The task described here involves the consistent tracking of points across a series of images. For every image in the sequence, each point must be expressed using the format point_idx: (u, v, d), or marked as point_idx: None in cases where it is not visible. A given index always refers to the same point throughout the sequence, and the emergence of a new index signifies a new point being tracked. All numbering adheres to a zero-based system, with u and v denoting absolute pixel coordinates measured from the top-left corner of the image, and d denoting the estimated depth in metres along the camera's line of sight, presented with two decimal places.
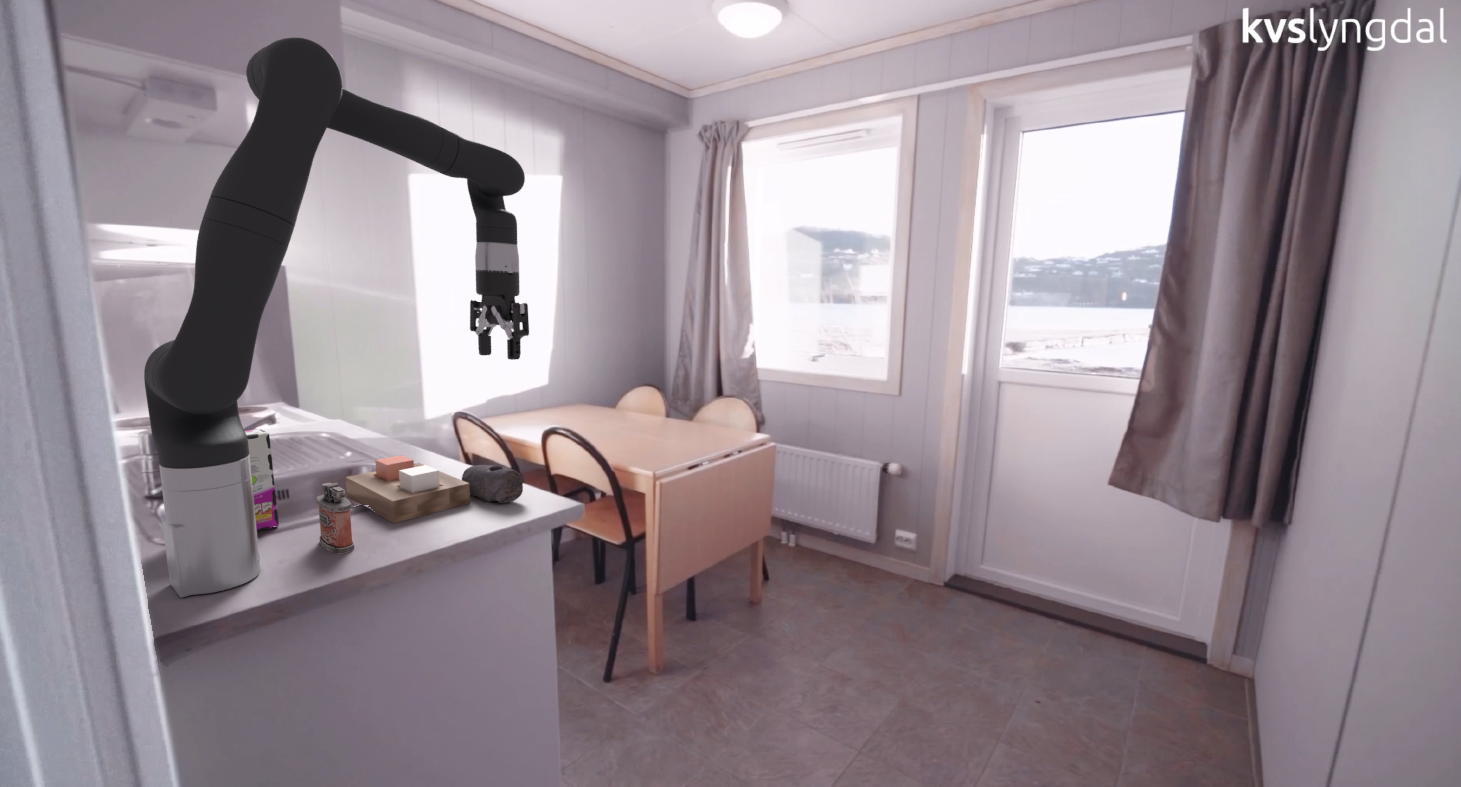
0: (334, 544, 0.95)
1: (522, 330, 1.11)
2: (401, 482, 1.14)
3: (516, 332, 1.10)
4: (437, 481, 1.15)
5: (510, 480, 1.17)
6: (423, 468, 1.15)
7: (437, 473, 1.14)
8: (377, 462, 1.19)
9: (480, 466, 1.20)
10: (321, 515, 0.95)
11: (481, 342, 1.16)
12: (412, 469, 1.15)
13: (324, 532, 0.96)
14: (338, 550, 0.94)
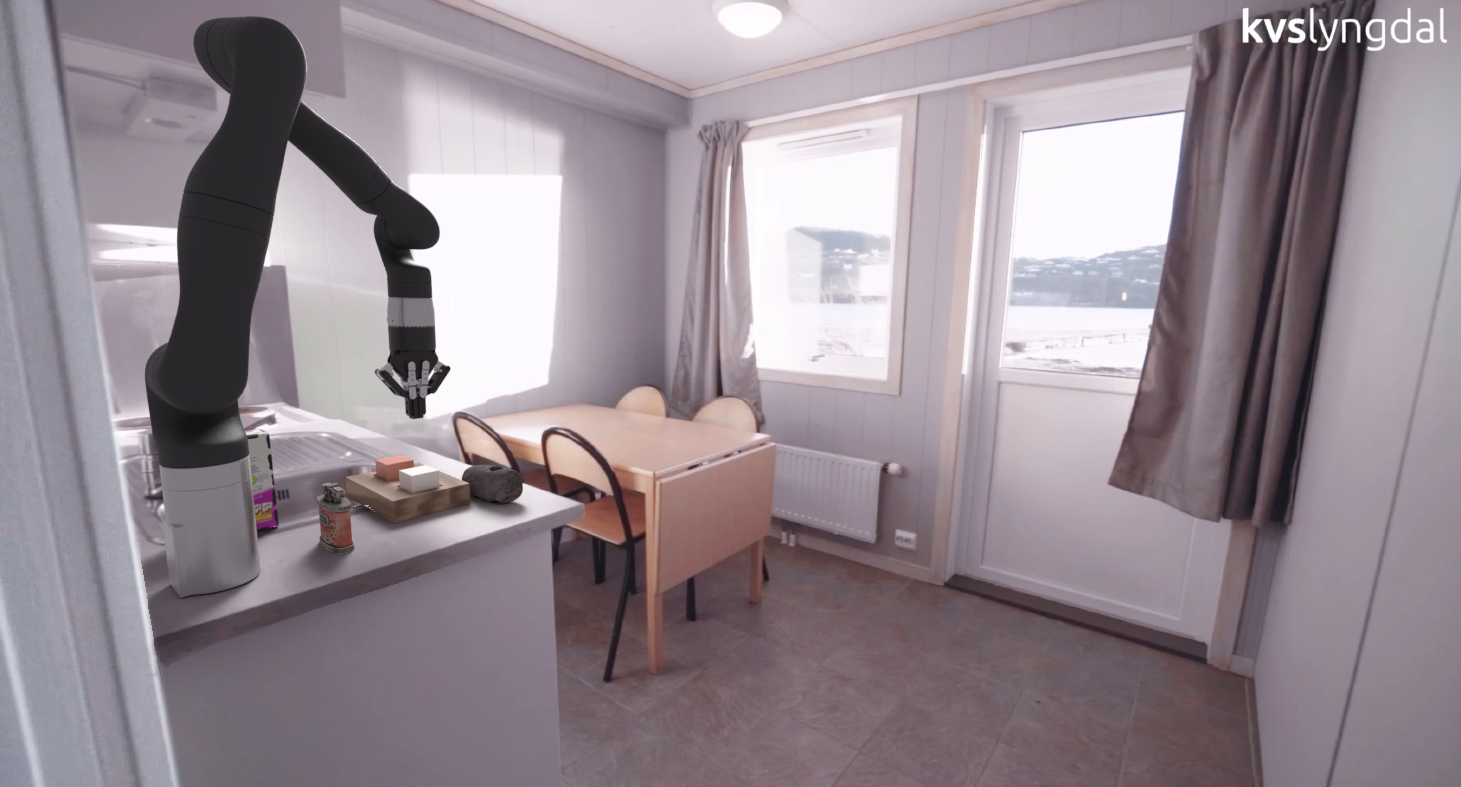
0: (334, 544, 0.95)
1: None
2: (401, 482, 1.14)
3: (434, 391, 1.13)
4: (437, 481, 1.15)
5: (510, 480, 1.17)
6: (423, 468, 1.15)
7: (437, 473, 1.14)
8: (377, 462, 1.19)
9: (480, 466, 1.20)
10: (321, 515, 0.95)
11: (417, 405, 1.11)
12: (412, 469, 1.15)
13: (324, 532, 0.96)
14: (338, 550, 0.94)
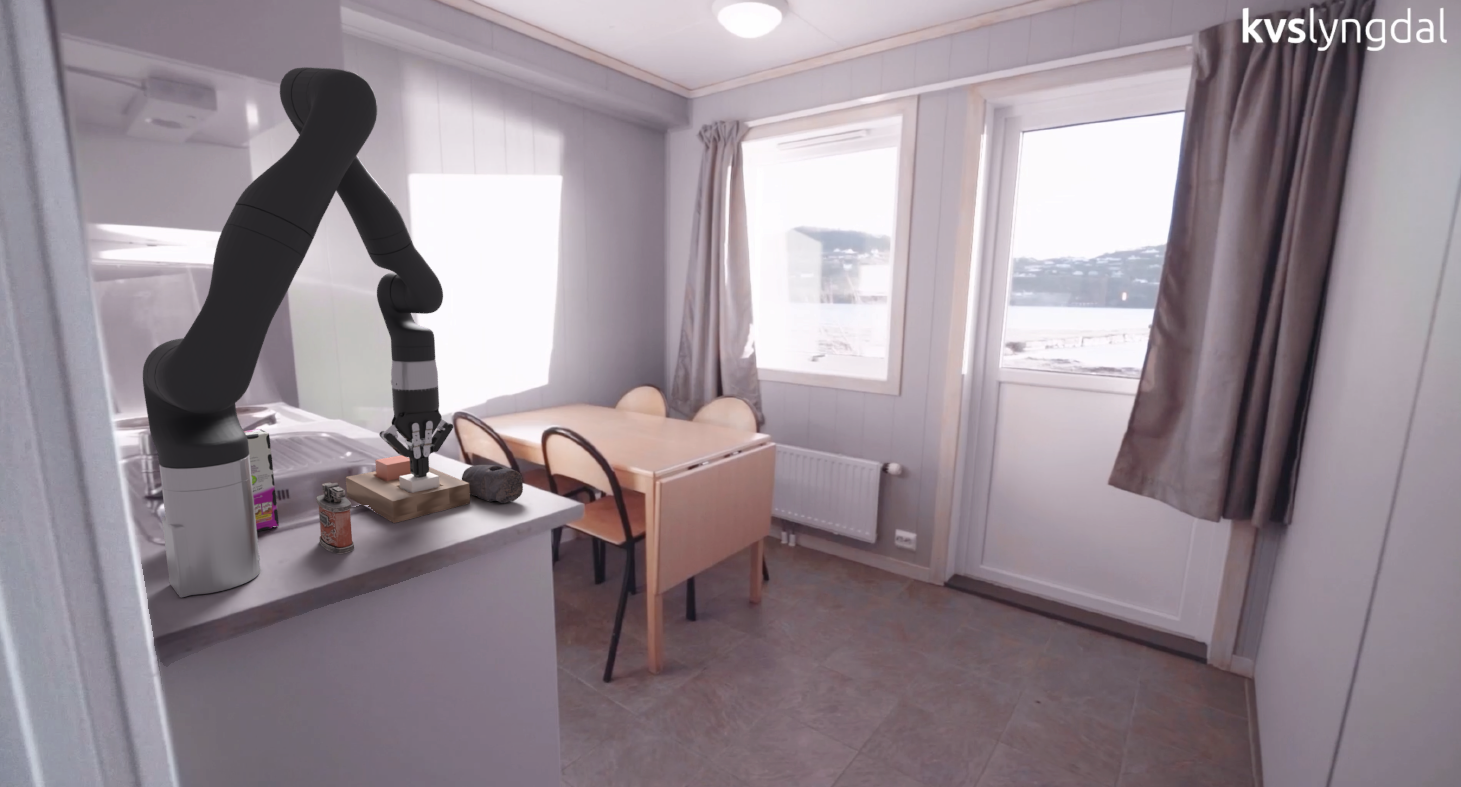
0: (334, 544, 0.95)
1: None
2: (401, 488, 1.14)
3: (437, 449, 1.15)
4: None
5: (510, 480, 1.17)
6: None
7: (437, 479, 1.15)
8: (377, 462, 1.19)
9: (480, 466, 1.20)
10: (321, 515, 0.95)
11: (421, 464, 1.13)
12: (412, 475, 1.15)
13: (324, 532, 0.96)
14: (338, 550, 0.94)
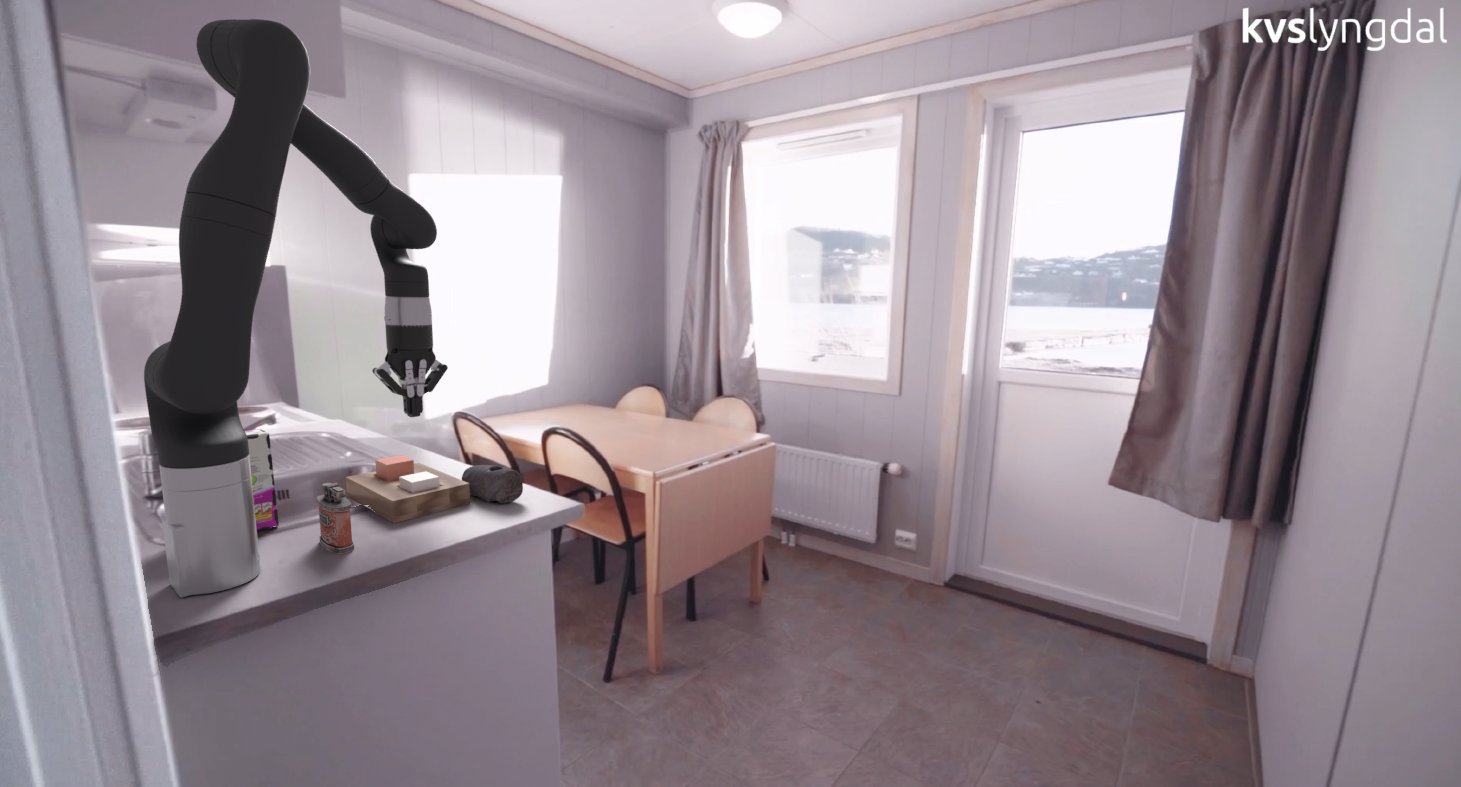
0: (334, 544, 0.95)
1: None
2: (401, 488, 1.14)
3: (431, 389, 1.14)
4: None
5: (510, 480, 1.17)
6: (423, 474, 1.16)
7: (437, 479, 1.15)
8: (377, 462, 1.19)
9: (480, 466, 1.20)
10: (321, 515, 0.95)
11: (415, 403, 1.12)
12: (412, 475, 1.15)
13: (324, 532, 0.96)
14: (338, 550, 0.94)
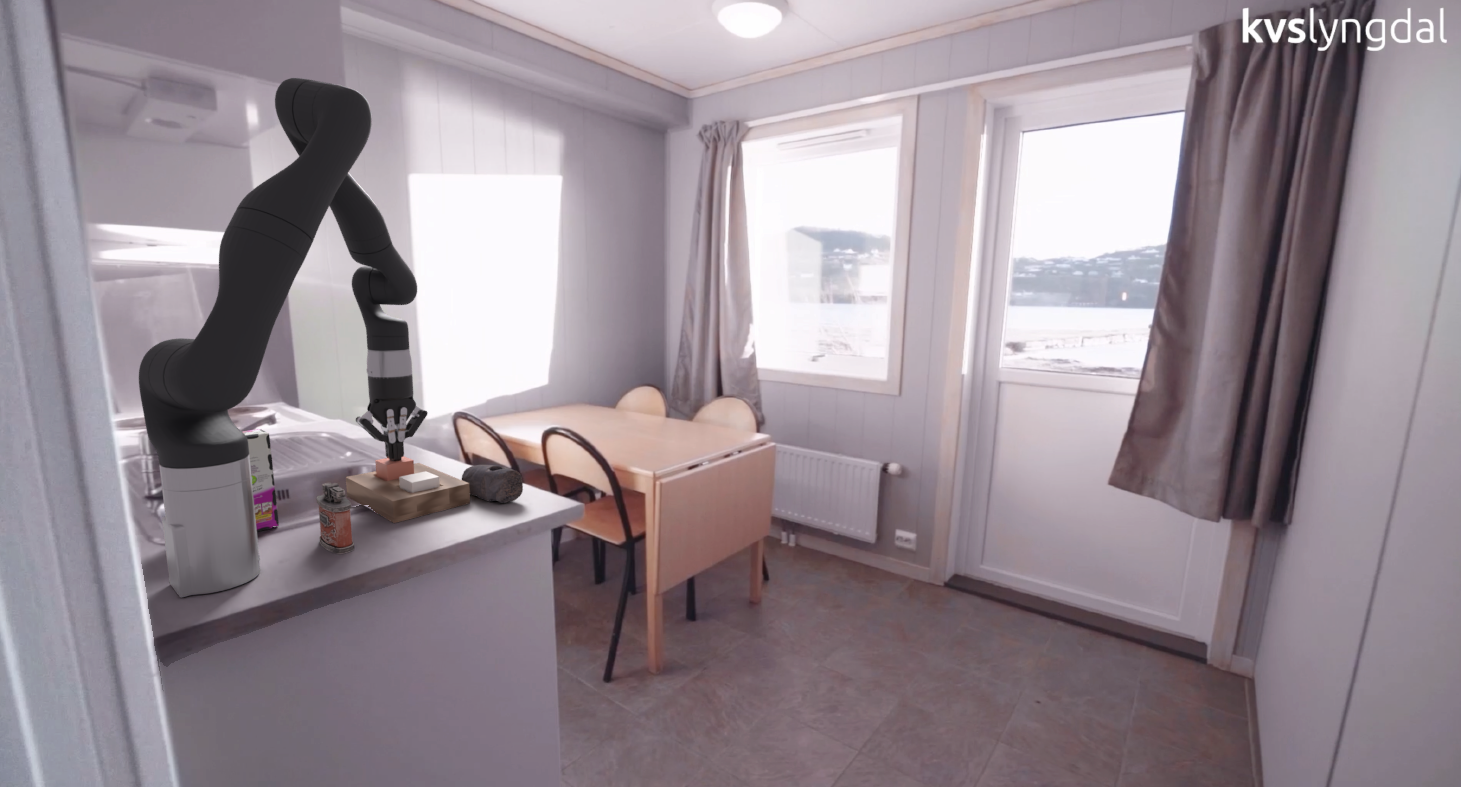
0: (334, 544, 0.95)
1: None
2: (401, 488, 1.14)
3: (411, 434, 1.21)
4: None
5: (510, 480, 1.17)
6: (423, 474, 1.16)
7: (437, 479, 1.15)
8: (377, 462, 1.19)
9: (480, 466, 1.20)
10: (321, 515, 0.95)
11: (396, 448, 1.19)
12: (412, 475, 1.15)
13: (324, 532, 0.96)
14: (338, 550, 0.94)
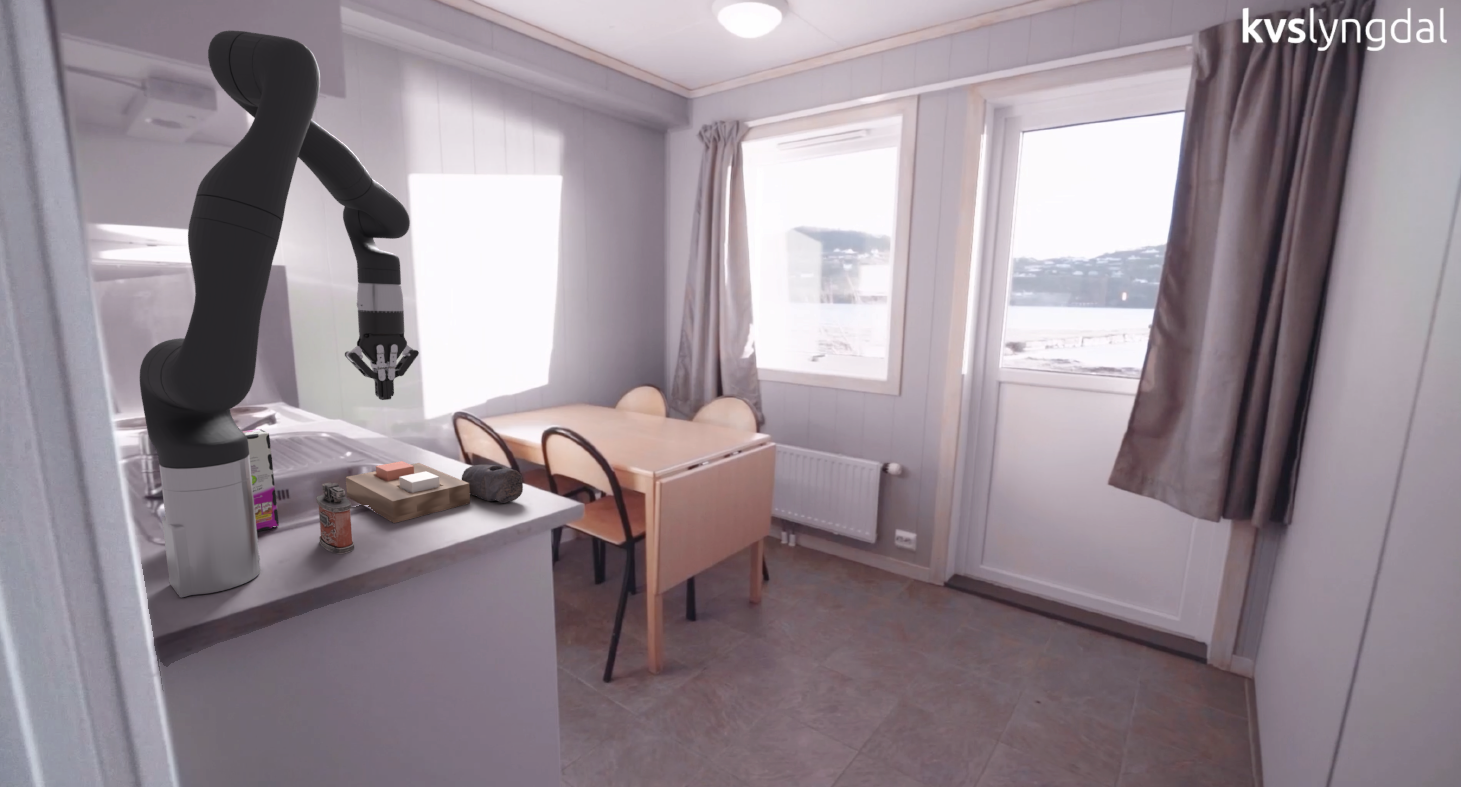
0: (334, 544, 0.95)
1: None
2: (401, 488, 1.14)
3: (402, 373, 1.19)
4: None
5: (510, 480, 1.17)
6: (423, 474, 1.16)
7: (437, 479, 1.15)
8: (377, 468, 1.19)
9: (480, 466, 1.20)
10: (321, 515, 0.95)
11: (386, 387, 1.17)
12: (412, 475, 1.15)
13: (324, 532, 0.96)
14: (338, 550, 0.94)
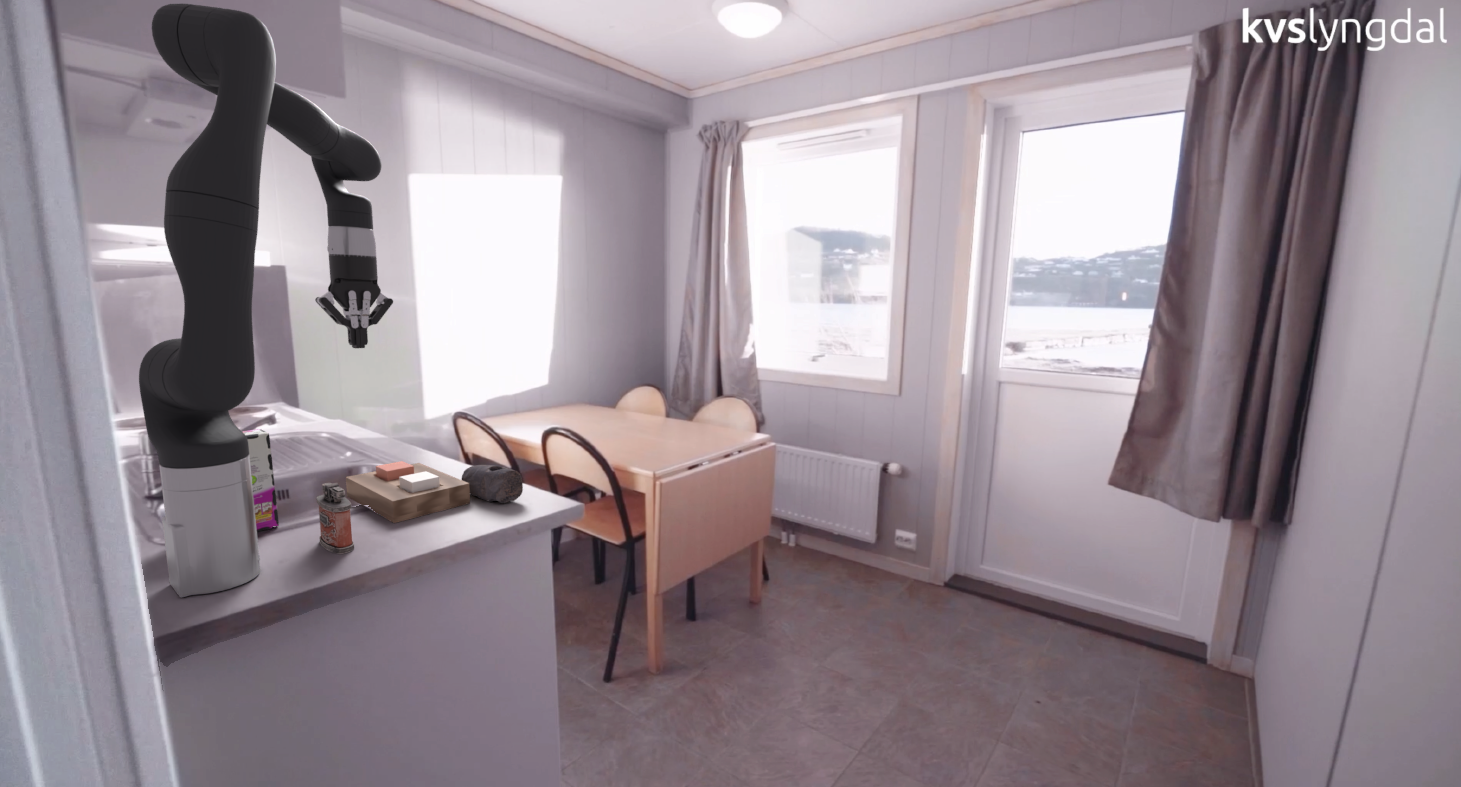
0: (334, 544, 0.95)
1: None
2: (401, 488, 1.14)
3: (376, 322, 1.16)
4: None
5: (510, 480, 1.17)
6: (423, 474, 1.16)
7: (437, 479, 1.15)
8: (377, 468, 1.19)
9: (480, 466, 1.20)
10: (321, 515, 0.95)
11: (359, 335, 1.14)
12: (412, 475, 1.15)
13: (324, 532, 0.96)
14: (338, 550, 0.94)
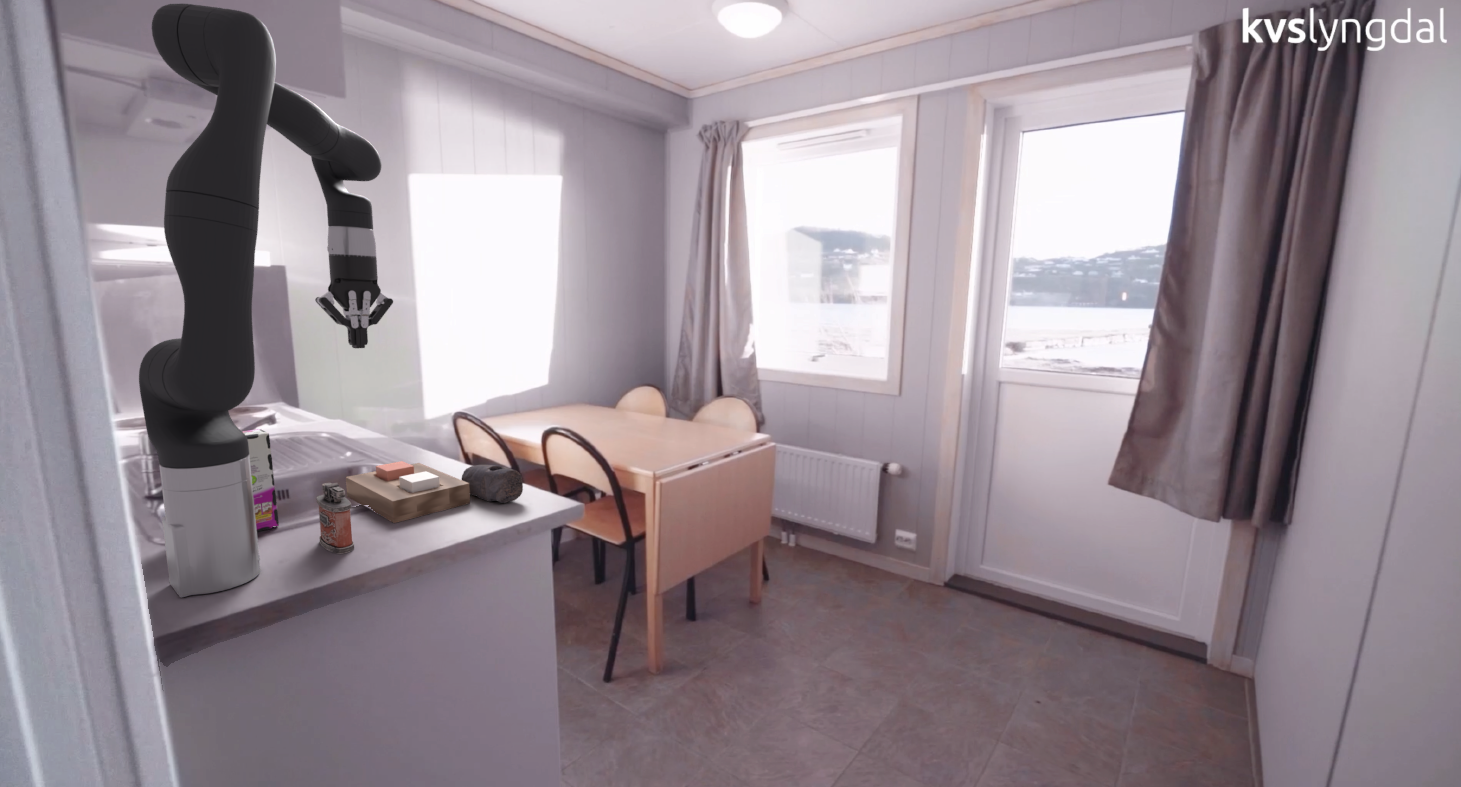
0: (334, 543, 0.95)
1: None
2: (401, 488, 1.14)
3: (376, 322, 1.16)
4: None
5: (510, 480, 1.17)
6: (423, 474, 1.16)
7: (437, 479, 1.15)
8: (377, 468, 1.19)
9: (480, 466, 1.20)
10: (321, 515, 0.95)
11: (359, 335, 1.14)
12: (412, 475, 1.15)
13: (324, 532, 0.96)
14: (338, 550, 0.94)
